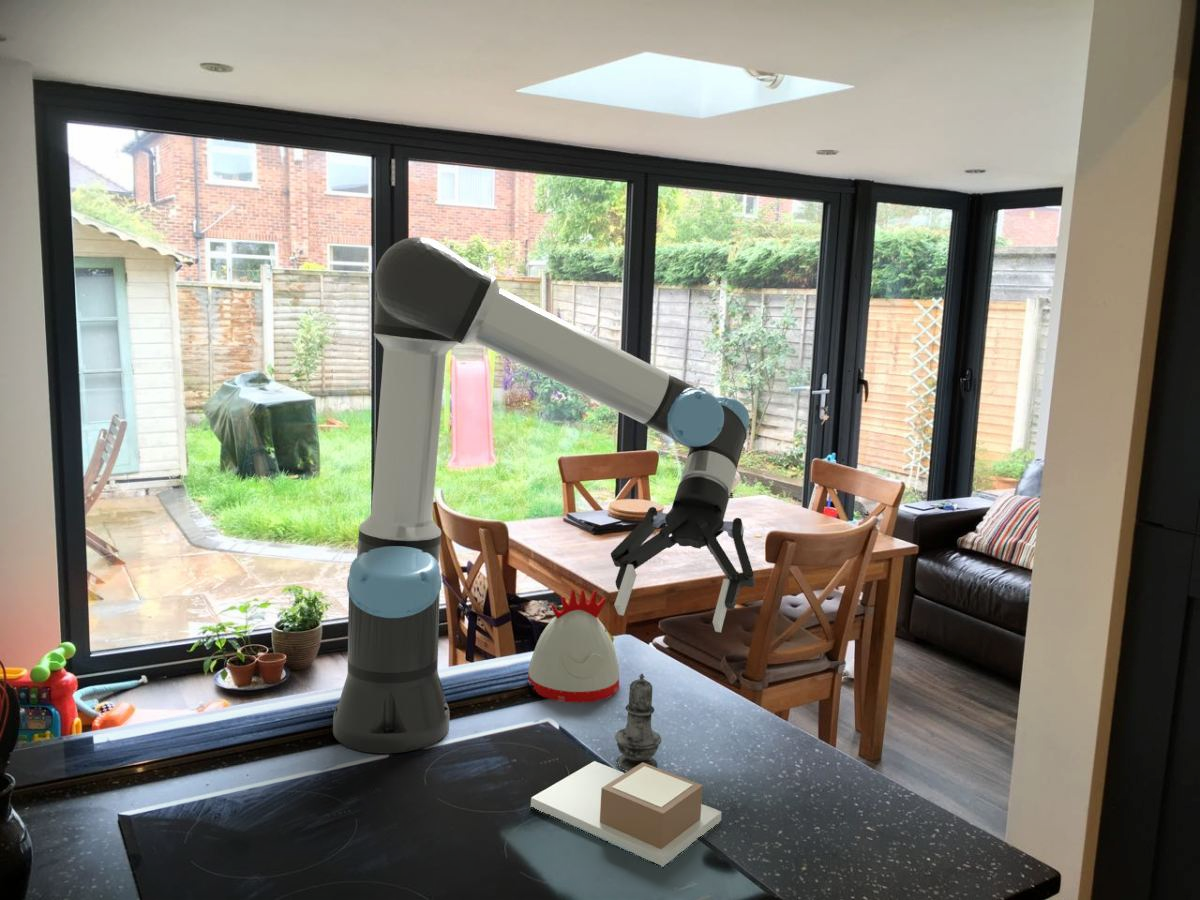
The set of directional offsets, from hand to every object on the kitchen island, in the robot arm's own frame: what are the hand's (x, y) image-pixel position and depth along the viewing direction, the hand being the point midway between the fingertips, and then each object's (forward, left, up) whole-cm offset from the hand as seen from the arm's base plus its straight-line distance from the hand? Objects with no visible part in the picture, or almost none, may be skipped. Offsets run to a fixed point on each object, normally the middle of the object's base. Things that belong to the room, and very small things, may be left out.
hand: (666, 618), depth 126 cm
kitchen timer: (-20, +6, -17) cm, 27 cm away
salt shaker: (+2, -9, -17) cm, 19 cm away
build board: (+8, -20, -16) cm, 27 cm away
